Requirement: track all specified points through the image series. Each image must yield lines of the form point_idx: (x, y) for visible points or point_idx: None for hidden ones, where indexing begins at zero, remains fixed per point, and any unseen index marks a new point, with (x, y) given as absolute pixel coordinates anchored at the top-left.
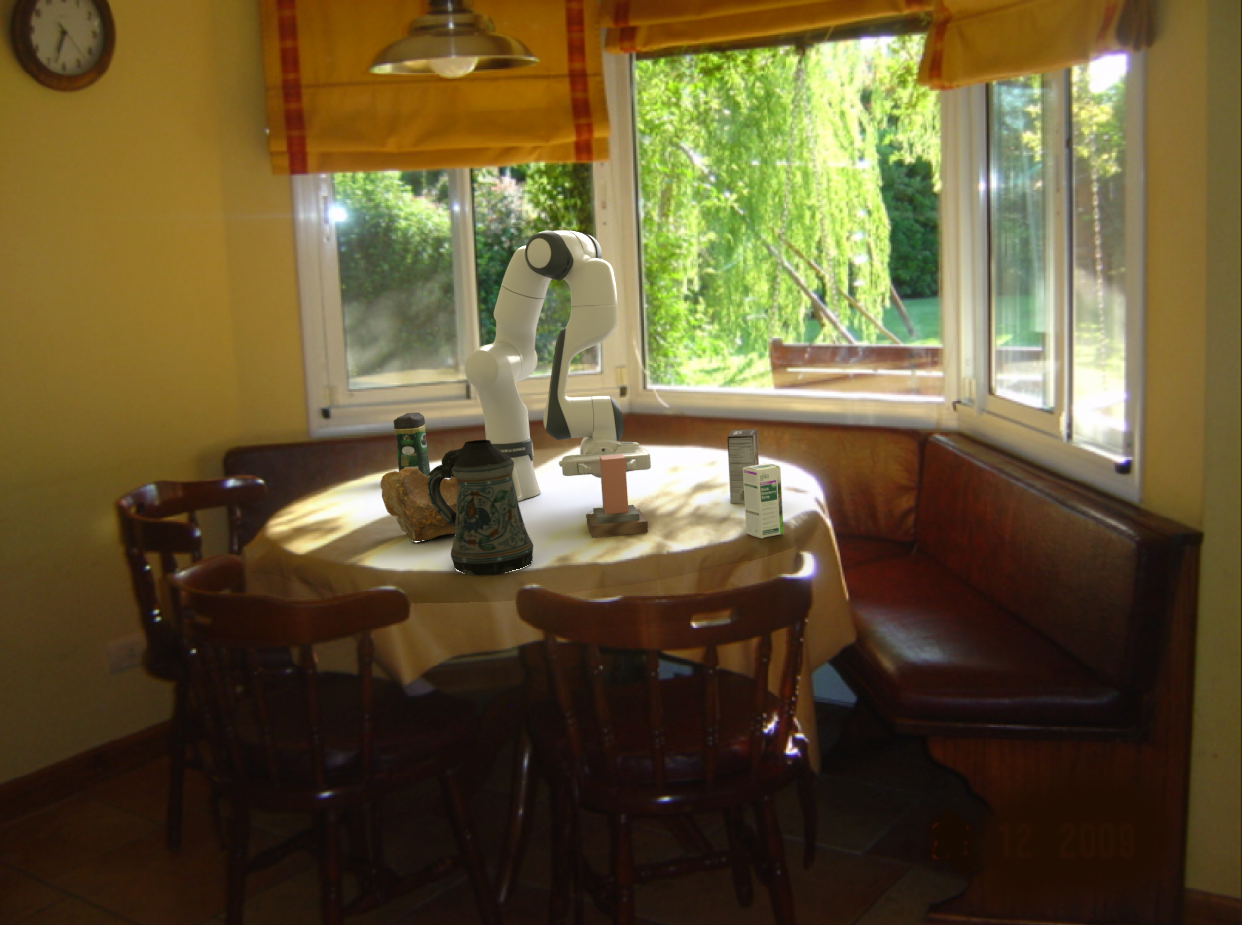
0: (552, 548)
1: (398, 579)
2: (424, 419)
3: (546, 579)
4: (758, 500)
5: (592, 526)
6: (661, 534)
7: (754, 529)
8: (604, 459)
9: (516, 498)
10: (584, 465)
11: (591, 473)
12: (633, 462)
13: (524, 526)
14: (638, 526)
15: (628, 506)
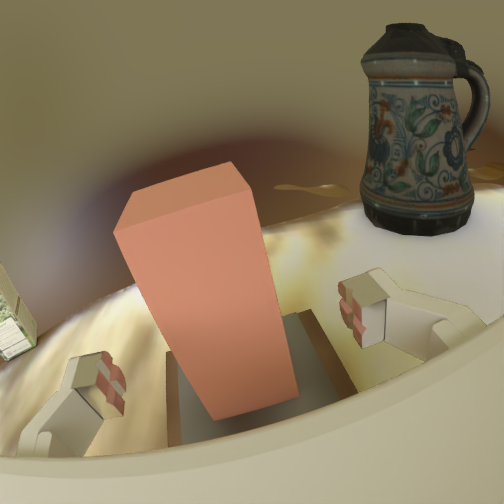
0: (374, 266)
1: (478, 177)
2: None
3: (318, 194)
4: (8, 277)
5: (309, 310)
6: (152, 357)
7: (31, 323)
8: (220, 165)
9: (372, 117)
10: (404, 295)
11: (342, 312)
12: (55, 400)
13: (371, 165)
14: None
15: (202, 432)
